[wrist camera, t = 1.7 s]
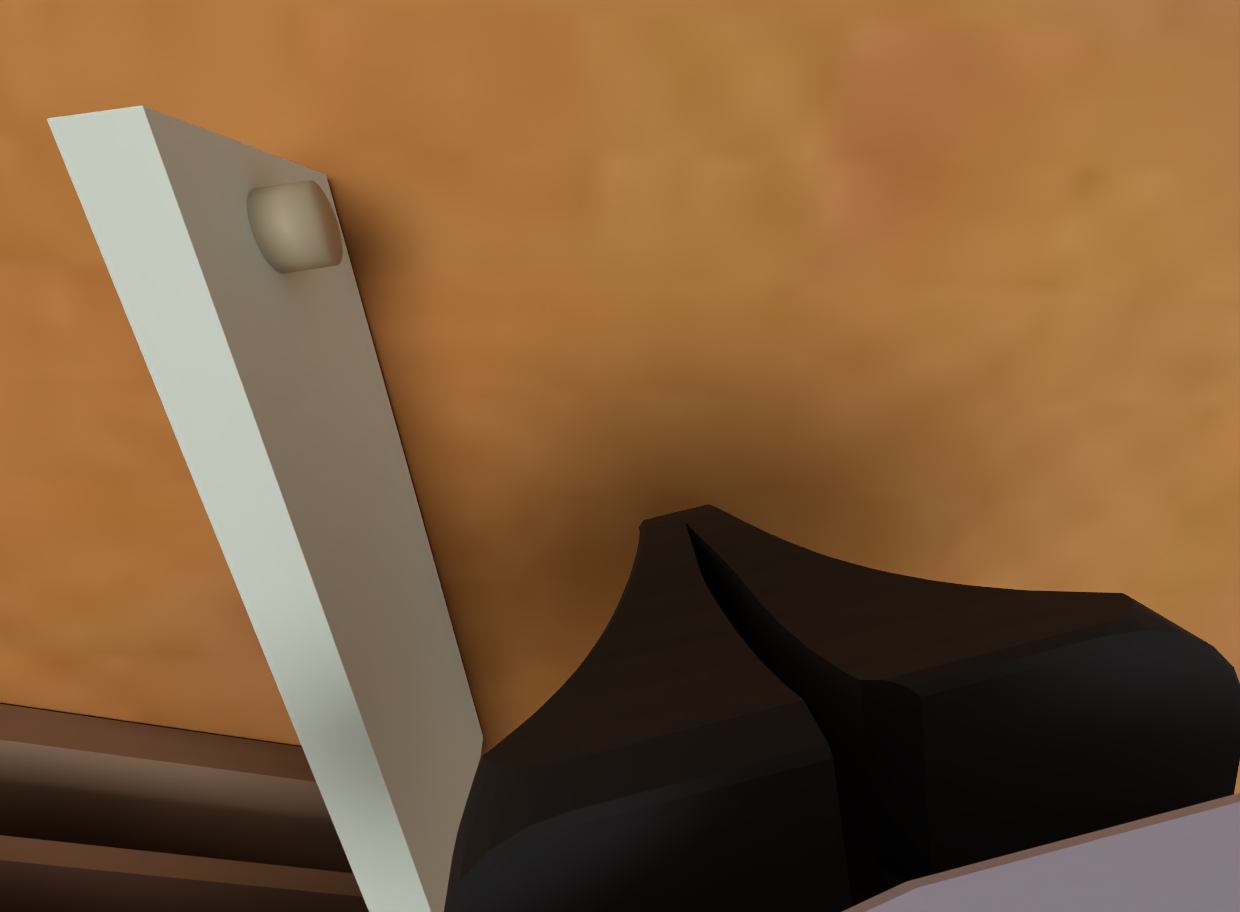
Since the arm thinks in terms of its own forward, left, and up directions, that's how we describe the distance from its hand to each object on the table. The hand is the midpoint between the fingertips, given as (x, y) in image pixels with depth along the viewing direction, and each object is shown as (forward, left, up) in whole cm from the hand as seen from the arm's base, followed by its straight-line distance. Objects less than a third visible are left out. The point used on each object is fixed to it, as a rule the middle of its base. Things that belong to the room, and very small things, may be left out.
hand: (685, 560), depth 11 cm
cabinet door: (-2, +5, -4) cm, 7 cm away
